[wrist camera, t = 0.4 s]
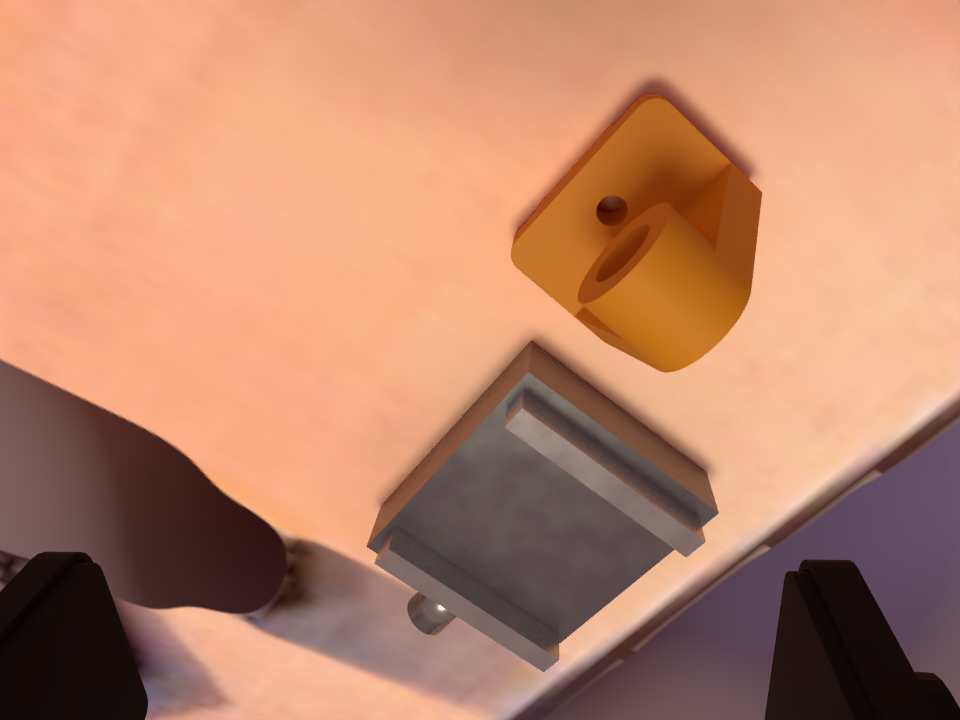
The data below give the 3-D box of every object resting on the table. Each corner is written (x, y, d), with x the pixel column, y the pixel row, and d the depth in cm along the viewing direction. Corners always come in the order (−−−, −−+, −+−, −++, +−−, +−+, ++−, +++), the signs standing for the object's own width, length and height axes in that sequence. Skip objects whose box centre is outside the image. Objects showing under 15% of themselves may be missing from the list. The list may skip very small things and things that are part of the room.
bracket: (649, 82, 36) (684, 118, 26) (749, 180, 38) (822, 252, 27) (506, 240, 41) (485, 327, 30) (601, 322, 42) (615, 433, 31)
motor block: (531, 340, 43) (526, 389, 38) (706, 472, 46) (725, 535, 40) (349, 541, 51) (323, 605, 46) (507, 643, 54) (501, 714, 48)
